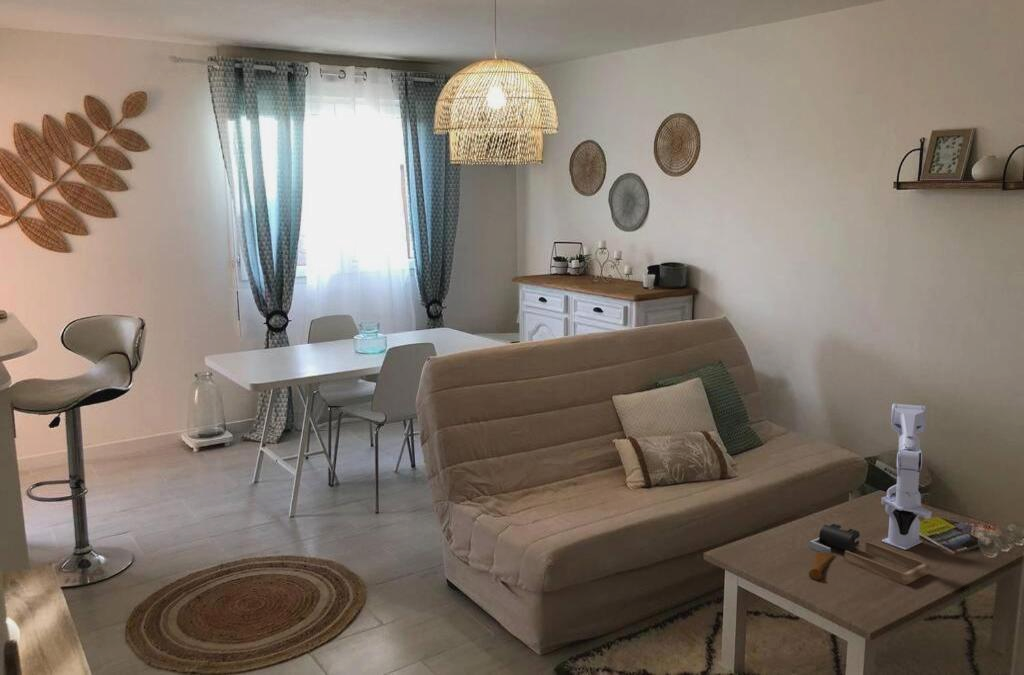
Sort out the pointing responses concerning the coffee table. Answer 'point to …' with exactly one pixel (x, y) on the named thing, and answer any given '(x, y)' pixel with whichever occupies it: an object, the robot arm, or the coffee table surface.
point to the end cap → (839, 538)
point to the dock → (819, 546)
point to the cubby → (905, 578)
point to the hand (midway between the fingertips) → (903, 534)
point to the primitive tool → (819, 565)
